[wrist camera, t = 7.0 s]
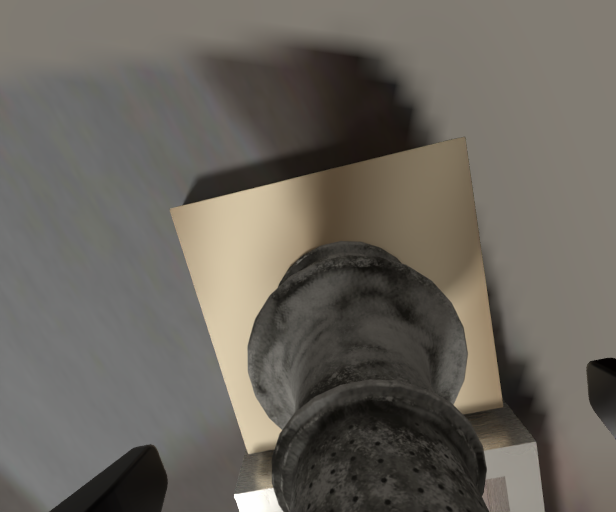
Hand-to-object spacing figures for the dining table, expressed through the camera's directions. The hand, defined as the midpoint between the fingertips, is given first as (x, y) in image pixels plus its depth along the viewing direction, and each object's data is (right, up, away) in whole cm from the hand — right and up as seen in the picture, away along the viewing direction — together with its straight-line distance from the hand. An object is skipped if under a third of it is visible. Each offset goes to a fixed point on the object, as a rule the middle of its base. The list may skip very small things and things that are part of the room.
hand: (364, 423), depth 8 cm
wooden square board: (0, +2, +7) cm, 7 cm away
